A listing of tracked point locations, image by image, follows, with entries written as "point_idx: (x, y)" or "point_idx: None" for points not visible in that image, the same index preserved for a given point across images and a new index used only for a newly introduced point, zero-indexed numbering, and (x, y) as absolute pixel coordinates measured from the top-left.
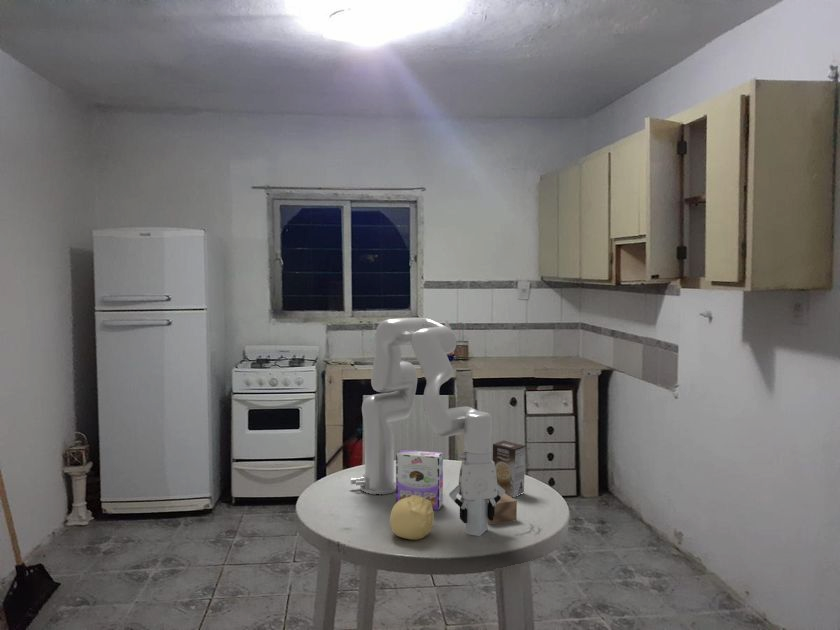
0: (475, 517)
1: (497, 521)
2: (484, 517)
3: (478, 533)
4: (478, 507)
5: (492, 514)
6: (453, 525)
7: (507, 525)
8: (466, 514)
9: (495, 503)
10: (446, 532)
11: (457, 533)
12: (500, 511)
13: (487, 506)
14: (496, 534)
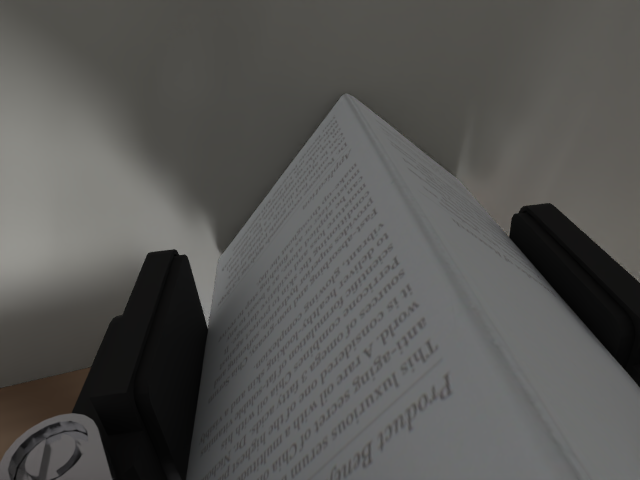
0: (451, 206)
1: None
2: (269, 278)
3: (363, 105)
4: (485, 288)
5: (140, 300)
6: None
7: (11, 319)
8: (590, 269)
9: (18, 475)
10: (613, 228)
11: (531, 197)
12: None
13: (194, 452)
14: (145, 126)
